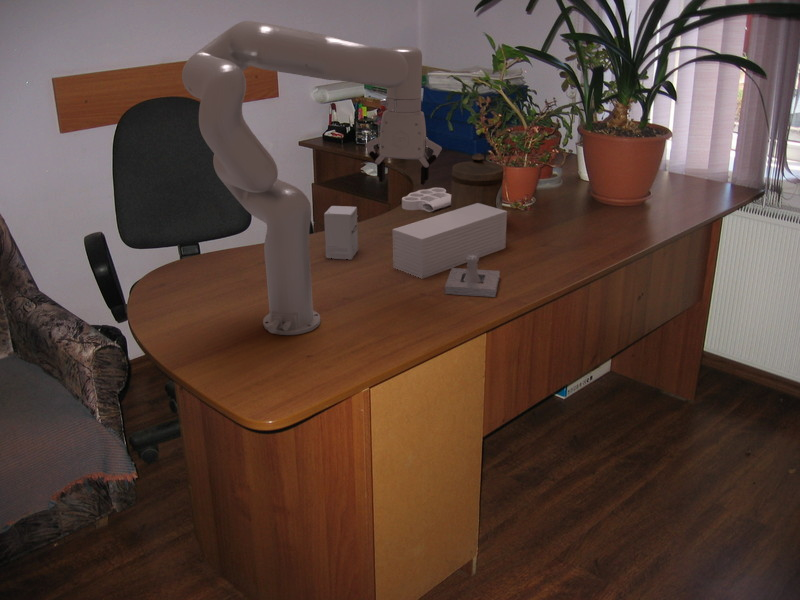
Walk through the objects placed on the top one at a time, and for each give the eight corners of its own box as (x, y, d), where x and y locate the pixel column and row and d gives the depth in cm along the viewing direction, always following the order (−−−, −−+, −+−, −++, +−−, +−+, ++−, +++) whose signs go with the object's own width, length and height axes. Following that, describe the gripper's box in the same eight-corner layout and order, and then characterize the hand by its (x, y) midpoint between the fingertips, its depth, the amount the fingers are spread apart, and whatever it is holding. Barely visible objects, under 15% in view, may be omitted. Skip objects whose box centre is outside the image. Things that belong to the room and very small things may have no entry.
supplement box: (352, 260, 217) (350, 214, 212) (325, 258, 219) (322, 213, 214) (359, 250, 224) (357, 206, 219) (332, 249, 225) (330, 204, 220)
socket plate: (495, 297, 194) (495, 289, 193) (444, 294, 196) (445, 286, 195) (499, 278, 205) (499, 270, 204) (451, 275, 207) (451, 267, 206)
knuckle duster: (426, 216, 252) (392, 207, 262) (463, 203, 264) (429, 194, 273) (426, 205, 251) (391, 196, 260) (463, 193, 263) (429, 184, 272)
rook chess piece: (469, 281, 203) (470, 250, 200) (484, 285, 201) (485, 254, 197) (459, 286, 200) (459, 256, 197) (474, 291, 198) (474, 260, 194)
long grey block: (421, 279, 205) (421, 239, 201) (393, 268, 212) (392, 229, 208) (505, 248, 225) (507, 211, 221) (476, 239, 232) (477, 202, 228)
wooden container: (510, 232, 237) (513, 157, 228) (463, 239, 232) (465, 162, 223) (486, 217, 249) (489, 145, 241) (442, 223, 245) (442, 150, 236)
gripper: (361, 106, 179) (361, 183, 185) (440, 110, 176) (437, 188, 182) (369, 101, 185) (369, 175, 192) (445, 104, 182) (442, 180, 189)
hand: (402, 181), depth 187 cm, fingers open, 9 cm apart
